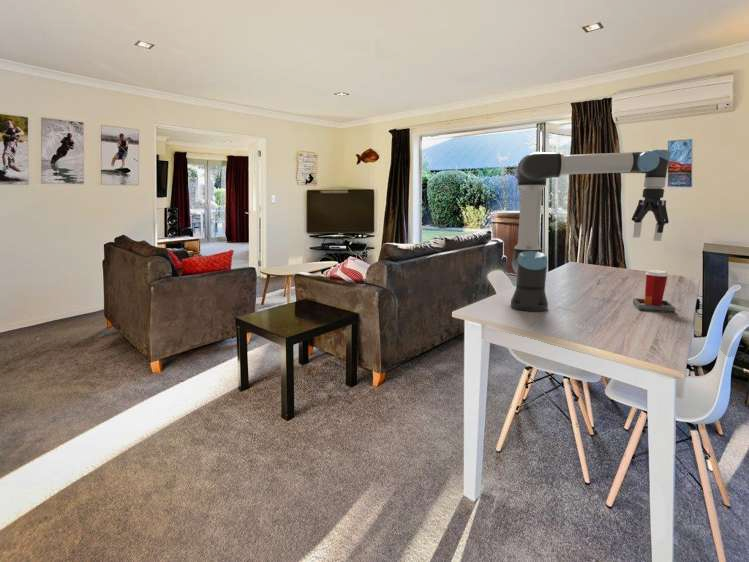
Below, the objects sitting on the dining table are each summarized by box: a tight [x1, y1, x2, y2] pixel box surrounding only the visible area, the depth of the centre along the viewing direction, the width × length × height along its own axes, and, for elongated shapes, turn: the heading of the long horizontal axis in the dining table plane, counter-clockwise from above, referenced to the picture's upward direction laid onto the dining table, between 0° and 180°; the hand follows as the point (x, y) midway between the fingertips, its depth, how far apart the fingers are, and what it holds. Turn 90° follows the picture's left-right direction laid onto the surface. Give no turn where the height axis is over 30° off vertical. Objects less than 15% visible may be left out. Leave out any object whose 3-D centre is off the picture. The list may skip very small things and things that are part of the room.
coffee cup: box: [644, 269, 669, 306], centre depth 189 cm, size 8×8×15 cm
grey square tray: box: [632, 297, 676, 314], centre depth 190 cm, size 13×13×2 cm
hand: (646, 239), depth 189 cm, fingers open, 13 cm apart
